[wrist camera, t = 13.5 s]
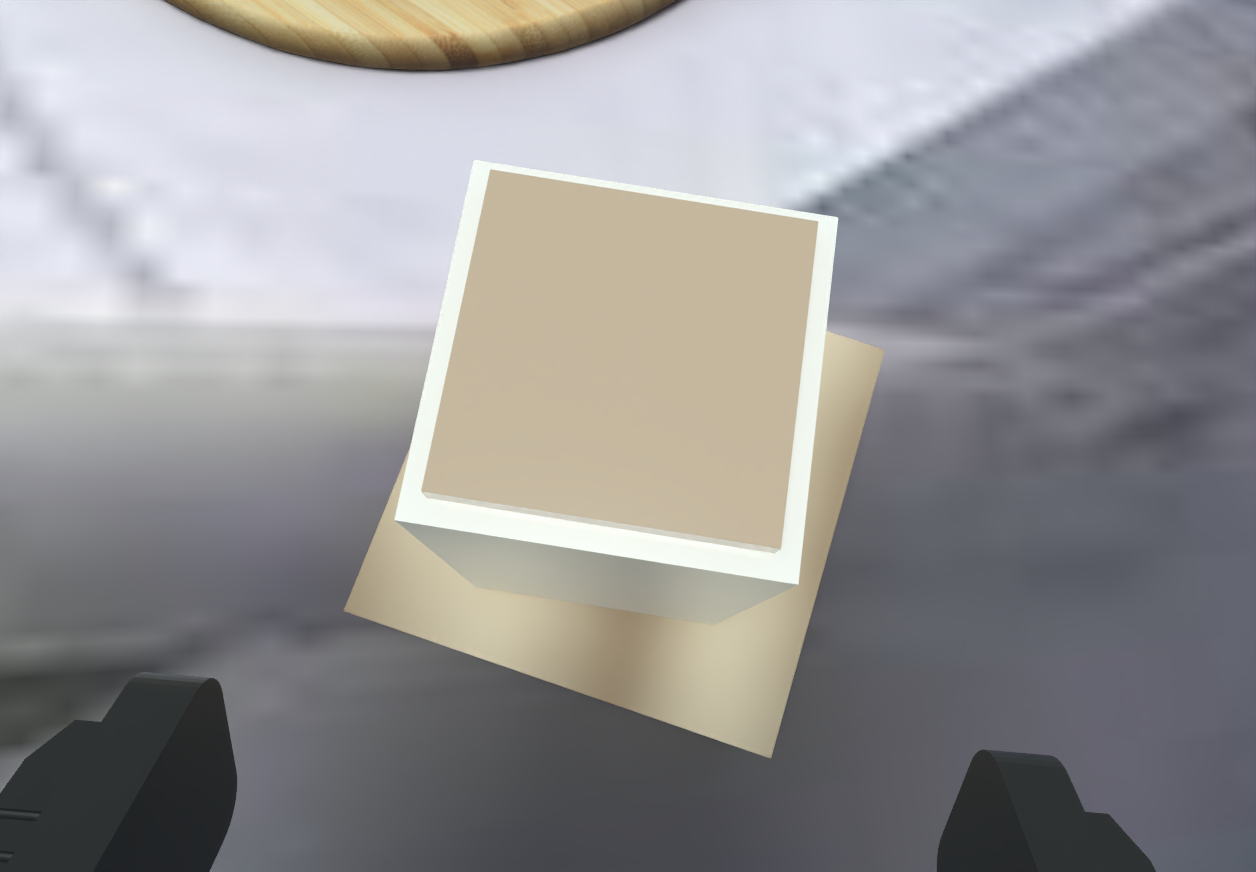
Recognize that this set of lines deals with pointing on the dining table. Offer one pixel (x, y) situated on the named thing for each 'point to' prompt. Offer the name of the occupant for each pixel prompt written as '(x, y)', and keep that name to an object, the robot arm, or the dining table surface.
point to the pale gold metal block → (634, 642)
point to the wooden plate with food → (422, 28)
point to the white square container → (622, 395)
